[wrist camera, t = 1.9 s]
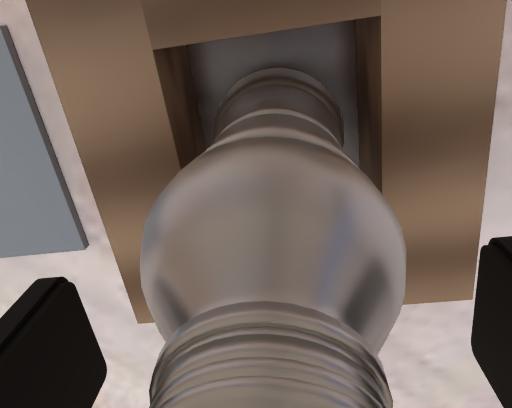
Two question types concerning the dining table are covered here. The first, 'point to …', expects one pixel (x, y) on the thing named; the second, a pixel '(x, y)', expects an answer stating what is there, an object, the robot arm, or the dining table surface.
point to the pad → (30, 172)
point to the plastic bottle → (273, 260)
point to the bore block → (369, 111)
